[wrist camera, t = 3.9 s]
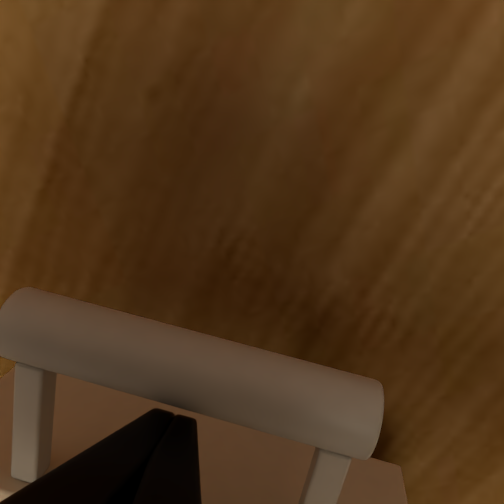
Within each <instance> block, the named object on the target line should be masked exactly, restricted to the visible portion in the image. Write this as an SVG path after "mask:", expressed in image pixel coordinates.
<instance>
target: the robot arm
mask: <svg viewBox="0 0 504 504" xmlns="http://www.w3.org/2000/svg"><path fill="white" fill-rule="evenodd" d="M0 504H202V500H201V483H200V467H199V450H198V433H197V421H196V419H194V418H191V417H188V416H184V415H181V414H177V415H174V413H173V412H170V411H167V410H163V409H160V408H153V409H151V410H150V411H148V412H146V413H145V414H143V415H142V416H140V417H138V418H137V419H135V420H133V421H132V422H130V423H128V424H127V425H125V426H123V427H122V428H120V429H119V430H117V431H115V432H114V433H112V434H110V435H109V436H107V437H105V438H104V439H102V440H101V441H99V442H97V443H96V444H94V445H92V446H91V447H89V448H87V449H86V450H84V451H83V452H81V453H79V454H78V455H76V456H74V457H73V458H71V459H69V460H68V461H66V462H65V463H63V464H61V465H60V466H58V467H56V468H55V469H53V470H51V471H50V472H48V473H46V474H45V475H43V476H42V477H40V478H38V479H37V480H35V481H33V482H32V483H30V484H28V485H27V486H25V487H24V488H22V489H20V490H19V491H17V492H15V493H14V494H12V495H10V496H9V497H7V498H6V499H4V500H2V501H1V502H0Z"/></svg>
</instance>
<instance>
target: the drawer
mask: <svg viewBox="0 0 504 504" xmlns="http://www.w3.org/2000/svg"><path fill="white" fill-rule="evenodd" d="M0 356H1V357H3V358H6V359H10V360H13V361H17V362H16V364H15V367H14V368H13V369H11V370H10V371H9V372H8V373H6V374H5V375H4V376H3V377H2V378H0V502H1V501H2V500H4V499H6V498H7V497H9V496H10V495H12V494H14V493H15V492H17V491H19V490H20V489H22V488H24V487H25V486H27V485H28V484H30V483H32V482H33V481H35V480H37V479H38V478H40V477H42V476H43V475H45V474H46V473H48V472H50V471H51V470H53V469H55V468H56V467H58V466H60V465H61V464H63V463H65V462H66V461H68V460H69V459H71V458H73V457H74V456H76V455H78V454H79V453H81V452H83V451H84V450H86V449H87V448H89V447H91V446H92V445H94V444H96V443H97V442H99V441H101V440H102V439H104V438H105V437H107V436H109V435H110V434H112V433H114V432H115V431H117V430H119V429H120V428H122V427H123V426H125V425H127V424H128V423H130V422H132V421H133V420H135V419H137V418H138V417H140V416H142V415H143V414H145V413H146V412H148V411H150V410H151V409H153V408H160V409H163V410H167V411H170V412H173V413H174V415H177V414H181V415H184V416H188V417H191V418H194V419H196V421H197V433H198V450H199V467H200V483H201V500H202V504H408V502H407V497H406V491H405V486H404V481H403V475H402V470H401V467H400V466H399V465H396V464H392V463H389V462H385V461H382V460H378V459H375V458H371V457H370V456H371V455H372V453H373V451H374V449H375V447H376V444H377V441H378V438H379V435H380V431H381V426H382V420H383V413H384V391H383V386H382V384H381V383H380V382H379V381H378V380H376V379H372V378H368V377H364V376H361V375H357V374H353V373H349V372H346V371H342V370H338V369H335V368H331V367H327V366H323V365H320V364H316V363H312V362H308V361H305V360H301V359H297V358H294V357H290V356H286V355H282V354H279V353H275V352H271V351H268V350H264V349H260V348H256V347H253V346H249V345H245V344H241V343H238V342H234V341H230V340H227V339H223V338H219V337H215V336H212V335H208V334H204V333H200V332H197V331H193V330H189V329H186V328H182V327H178V326H174V325H171V324H167V323H163V322H159V321H156V320H152V319H148V318H145V317H141V316H137V315H133V314H130V313H126V312H122V311H118V310H115V309H111V308H107V307H104V306H100V305H96V304H92V303H89V302H85V301H81V300H77V299H74V298H70V297H66V296H63V295H59V294H55V293H51V292H48V291H44V290H40V289H36V288H33V287H25V288H21V289H18V290H17V291H15V292H14V293H13V294H11V295H10V297H9V298H8V299H7V300H6V301H5V303H4V304H3V306H2V307H1V309H0Z"/></svg>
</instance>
